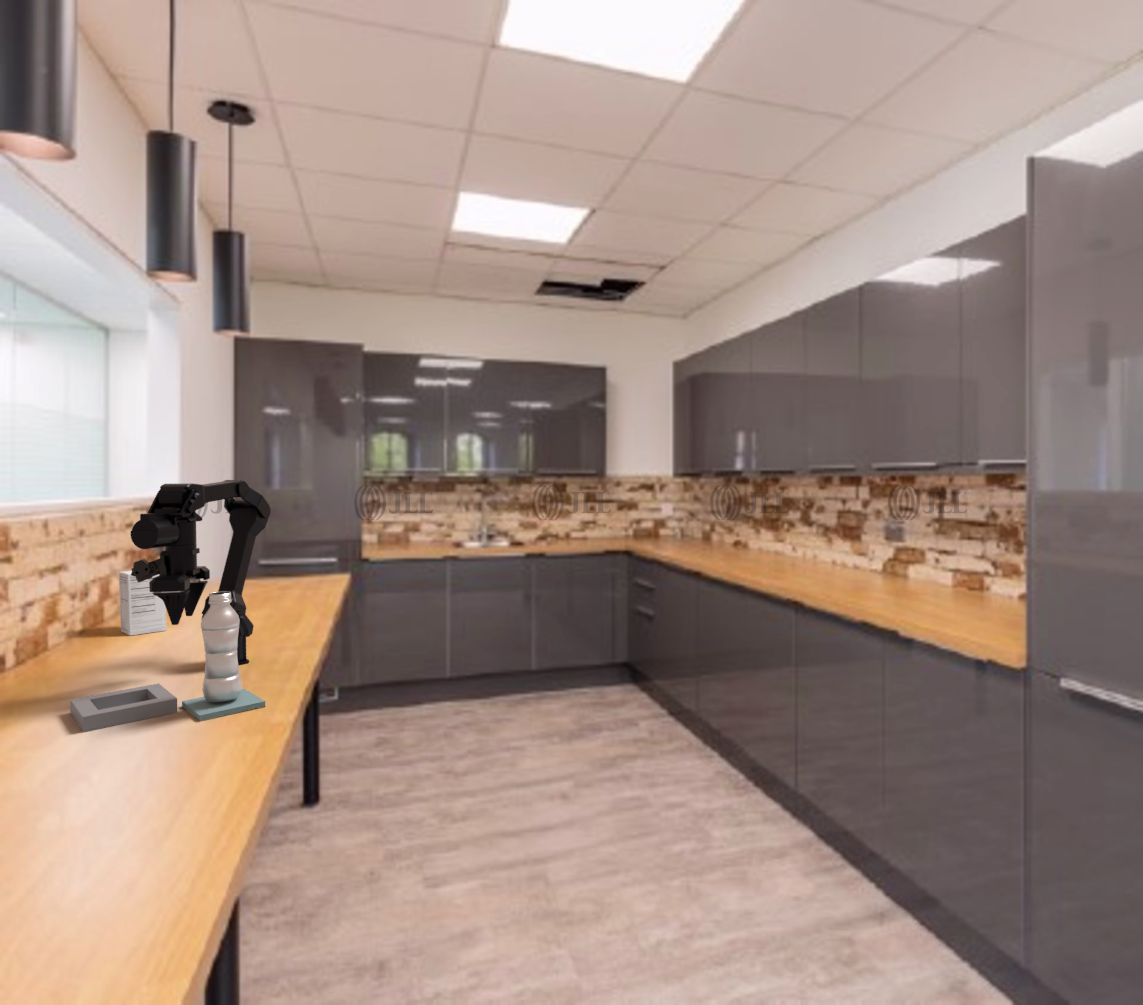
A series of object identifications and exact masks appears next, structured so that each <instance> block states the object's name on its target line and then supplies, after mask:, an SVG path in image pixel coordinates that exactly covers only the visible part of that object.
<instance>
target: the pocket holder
mask: <svg viewBox="0 0 1143 1005" xmlns="http://www.w3.org/2000/svg"><path fill="white" fill-rule="evenodd" d="M69 700H70V702H69V703H70V706H69V707H70V714H71V716H72V717H73V719H74V721H75V722H76V723H77V725H78V726H79V728H80V729H81V731H82V732H83V733H84V732H90V731H95V730H100V729H103V728H108V727H109V728H110V727H114V726H117V725H118V726H119V725H123V724H127V723H131V722H132V723H133V722H137V721H142V720H146V719H147V720H148V719H152V718H157V717H160V716H165V715H170V714H175V712H176V713H178V698H177V697H176V696H175V695H174V694H172V693H171V692H170V691H169V690H167V688H165V687H164V686H163V685H162V684H160V683H159V682H158V683H154V684H148V685H141V686H136V687H132V688H125V689H120V690H116V691H114V690H113V691H109V692H104V693H99V694H95V695H94V694H93V695H89V696H82V697H76V698H72V699H69Z"/></svg>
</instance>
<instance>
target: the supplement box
mask: <svg viewBox="0 0 1143 1005" xmlns="http://www.w3.org/2000/svg"><path fill="white" fill-rule="evenodd" d="M131 573H132V570H124V571H119V572H118V582H119V584H118V586H119V614H120V615H119V616H120V617H119V618H120V632H122V633H124V634H126V635H128V636H130V637H131V636H139V635H145V634H150V633H151V634H152V633H157V632H165V631H167V609H166V606H165V604H164V602H163V600H162V599H160V598H159V597H158V596H155V595H153V593H154V592H150V588H149V582H150V581H151V580H152V579H154V578H155V577H157V576H159V574H158V575H155V576H153V577H152V578H150V579H147V580H144V581H142V582H139V583H138V582H137V579H136V577H135V576H132V575H131Z"/></svg>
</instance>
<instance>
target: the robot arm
mask: <svg viewBox="0 0 1143 1005" xmlns="http://www.w3.org/2000/svg"><path fill="white" fill-rule="evenodd" d="M159 488H160V489H159V490H158V491H157V493H156V495H155V497H154V499H153V501H152V503H151V504H150V507H149V508H148V510H147V513H140V515H139V520H138V521H136V522H135V523H134V525H133V527H132V528H131V530H130V539H131V542H132V543H133V544H134V545H135V547H137V548H138V549H141V550H149V549H157V548H163V547H164V550H161V551H160V552H159V558H157V559H154V560H152V561H151V560H150V561H148V560H146V559H145V558H143V559H142V558H141V559H139V560H136V561H134V562H133V565H132V568H130V571H132V573H131V575H132V576H135V577H136V579H137V582H138V583H139V582H142V581H144V580H147V579H150V578H152V577H153V576H155V575H158V574H159V576H157V577H155V578H154V579H152V580H151V581H150V582H149V588H150V592H154V593H153V595H155V596H158V597H159V598H160V599H162V600H163V602H164V604H165V606H166V613H167V615H168V617H169V621H170V623H171V625H172V626H178V625H179V624H180V621H181V619H182V617H183V616H182V615H183V612H185V616H186V617H193V615H194V614H195V613H194V612H195V610H196V608H197V605H198V604H199V601H200V599H201V596H202V594H203V592H204V590H205V588H206V585H207V584H208V582H209V581H208V580H210V579H211V574H210V572H211V571H210V570H211V569H209V568H208V567H207V566H205V565H200V566H198V556H197V555H198V554H200V547H197V546H198V544H197V522H202V521H203V517H202V516H201V515H200V514H198V513H197V511H198V510H201V509H203V508H204V507H205V506H206V504H207V503H211V502H217V501H222V500H224V504H223V507H224V508H223V509H225V510H226V512H227V513H228V515H229V518H228V522H229V524H230V527H231V530H232V536H231V541H230V544H229V547H228V551H227V552H228V553H227V556H226V559H225V563H224V568H223V572H222V574H221V579H220V583H219V586H218V591H217V592H223V591H227V592H231V599H232V602H231V603H230V606H231V607H232V608H233V609H234V610H235V611H236V613H237V614H238V616H239V619H240V625H239V633H238V644H237V658H238V665H242V664H248V663H250V660H249V659H247V658H248V657H247V638H249V637H251V635H253V632H254V624H253V622H252V621H251V620H250V618H249V617H248V616H247V614H246V612H247V606H246V603H245V600H244V598H243V591H244V587H245V583H246V578H247V575H248V570H249V566H250V562H251V558H252V554H253V550H254V546H255V542H256V537H257V536H258V535H259V534H260V533H261V532H262V531H263V530H264V529H265V528H266V526H267V523H268V521H269V518H270V516H271V510H272V509H271V506H270V504H269V503H268V502H267V500H266V498H265V497H264V496H263V495H262V494H261V493H259V492H257V491H256V490H254V489H253V488H251V487H250V486H249V484H248V483H247V482H246V481H245V480H242V479H225V480H223V481H217V482H210V483H204V484H199V483H164V484H161V486H160V487H159ZM235 498H240V499H235ZM208 601H209V595H208V596H206V598H205V599H204V607H203V609H202V611H201V614H202V616H201V619H202V618H203V617H204V615H205V613H206V612H207V611H208V609H209V608H210V604H209V602H208Z"/></svg>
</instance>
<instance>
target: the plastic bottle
mask: <svg viewBox="0 0 1143 1005" xmlns="http://www.w3.org/2000/svg"><path fill="white" fill-rule="evenodd" d="M208 596H209V601H208V602H209V604H210V608H209V609H208V611H207V612H206V613H205V615H204V617H203V618H202V617H201V622H200V629H201V633H202V638H203V645H204V652H205V654H204V656H205V660H204V661H205V663H204V677H203V681H202V696H203V697H204V698H205V699H206V700H207V701H208V702H225V701H230V700H233V699H235V698H237V697H238V696H239V694H240V693H241V689H242V686H243V684H242V677H241V673H240V669H239V664H238V658H237V644H238V633H239V625H240V619H239V616H238V614H237V613H236V611H235V610H234V609H233V608H232V607H231V606H230V603H231V602H232V599H231V592H227V591H223V592H218V591H214V592H209V593H208Z"/></svg>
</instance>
